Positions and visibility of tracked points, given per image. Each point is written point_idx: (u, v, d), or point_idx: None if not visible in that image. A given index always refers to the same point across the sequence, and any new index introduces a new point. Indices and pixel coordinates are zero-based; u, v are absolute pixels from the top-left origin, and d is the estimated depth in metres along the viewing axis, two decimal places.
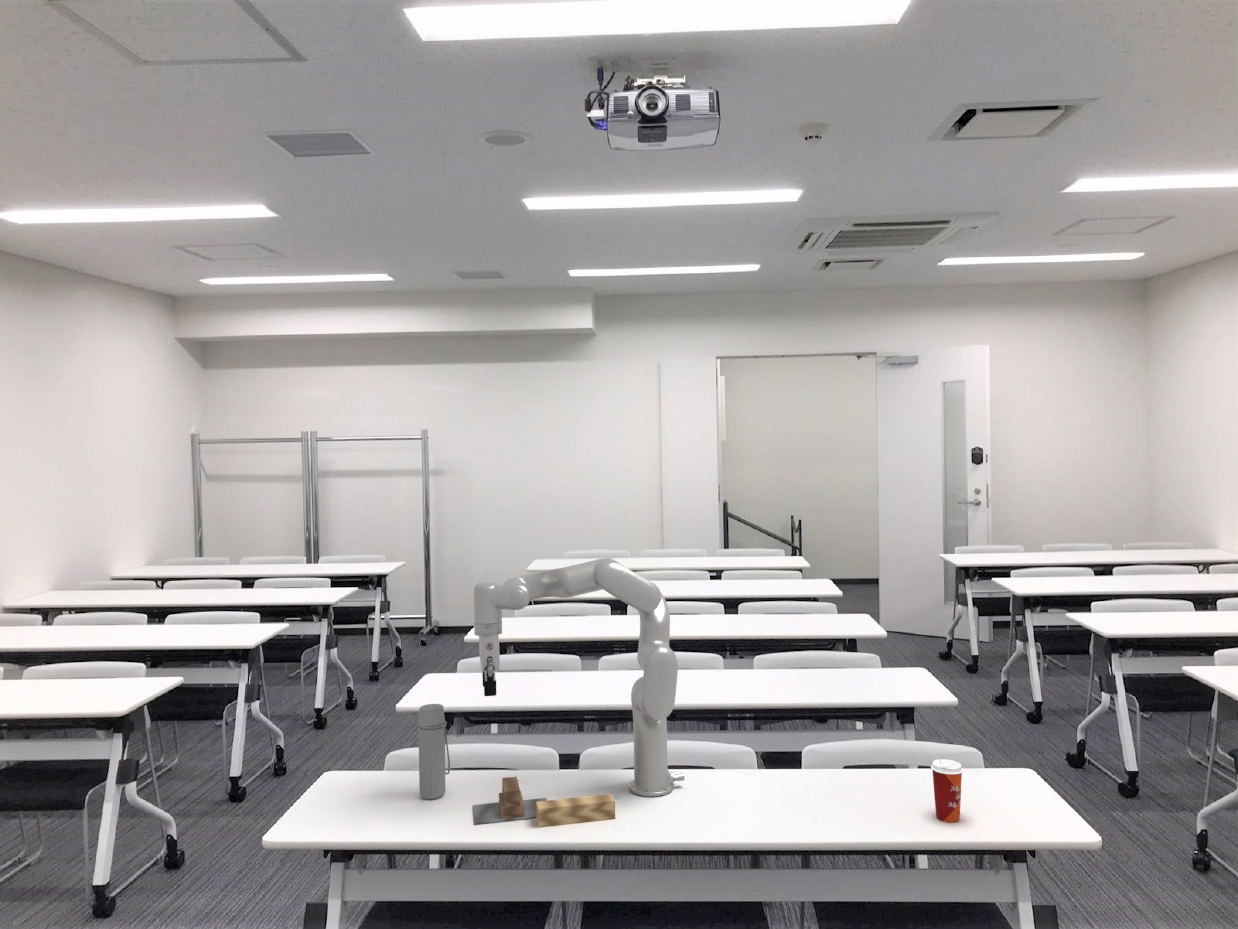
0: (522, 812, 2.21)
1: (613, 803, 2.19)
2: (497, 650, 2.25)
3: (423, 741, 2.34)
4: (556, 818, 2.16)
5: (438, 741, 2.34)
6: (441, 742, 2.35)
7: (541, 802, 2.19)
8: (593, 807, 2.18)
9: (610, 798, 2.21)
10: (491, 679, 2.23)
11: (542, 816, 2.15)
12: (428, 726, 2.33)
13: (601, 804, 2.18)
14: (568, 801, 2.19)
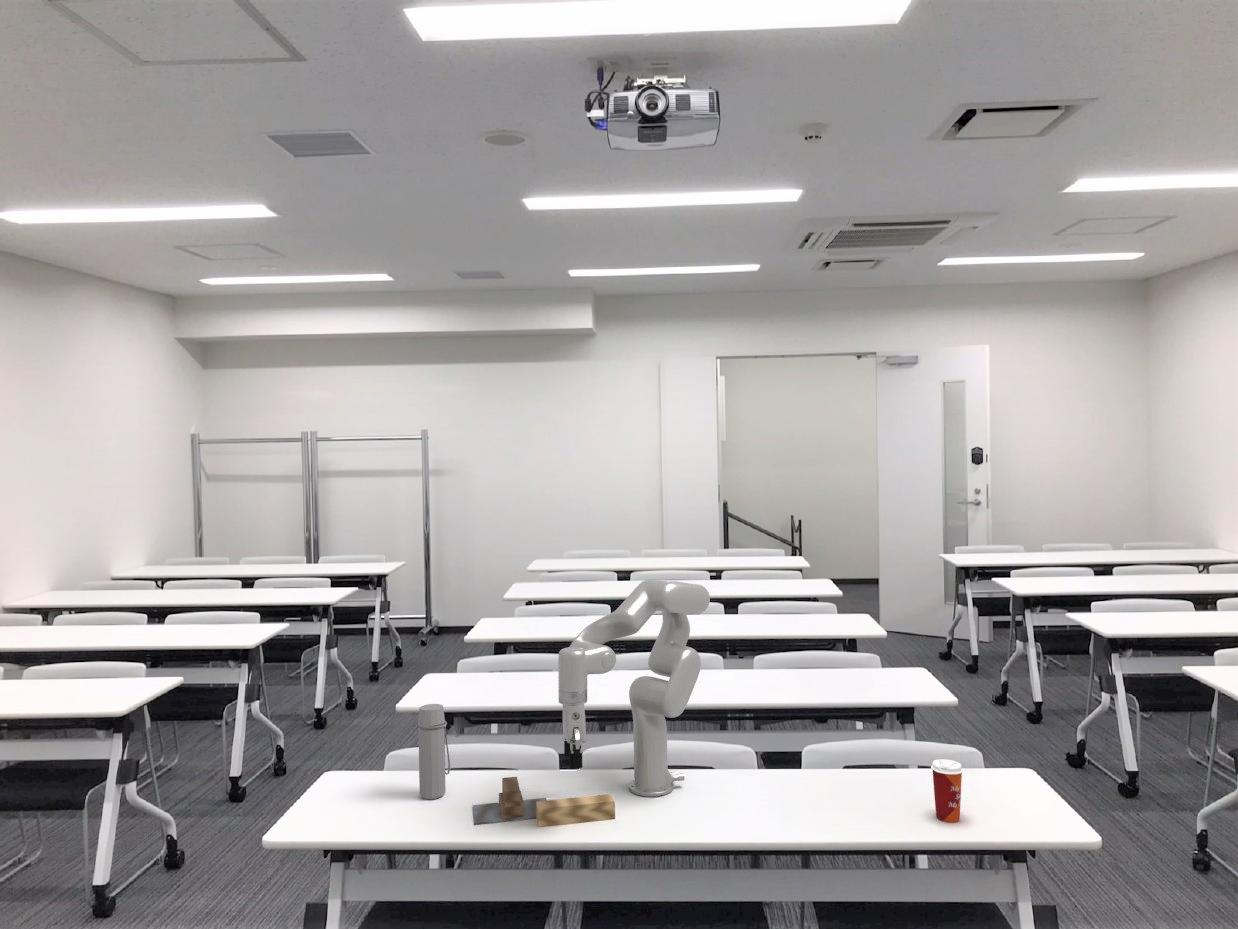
0: (522, 812, 2.21)
1: (613, 803, 2.19)
2: (583, 720, 2.15)
3: (423, 741, 2.34)
4: (556, 818, 2.16)
5: (438, 741, 2.34)
6: (441, 742, 2.35)
7: (540, 802, 2.19)
8: (593, 807, 2.18)
9: (610, 798, 2.21)
10: (578, 751, 2.13)
11: (541, 816, 2.15)
12: (428, 726, 2.33)
13: (601, 804, 2.18)
14: (568, 801, 2.19)
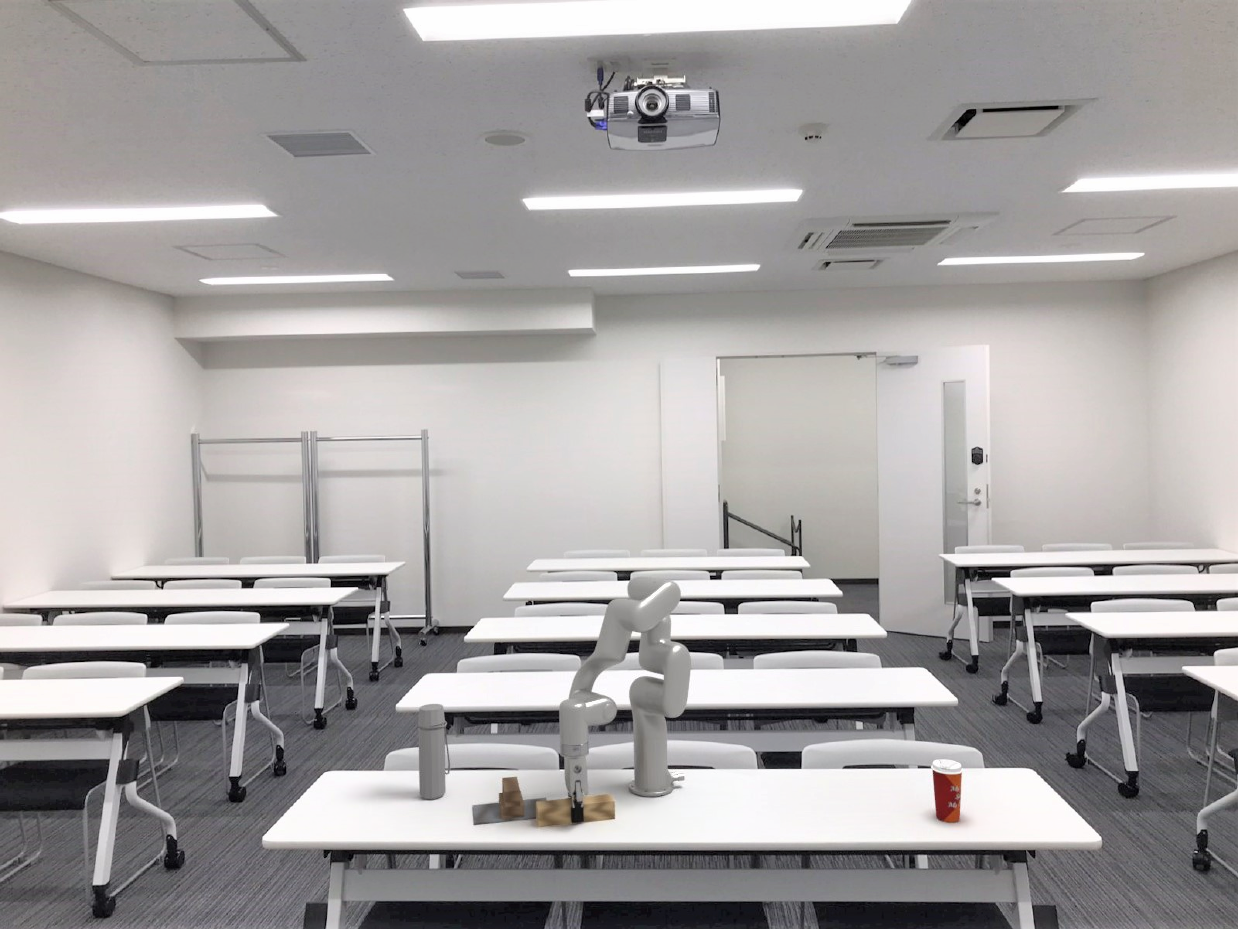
0: (522, 812, 2.21)
1: (613, 803, 2.19)
2: (585, 773, 2.15)
3: (423, 741, 2.34)
4: (556, 818, 2.16)
5: (438, 741, 2.34)
6: (441, 742, 2.35)
7: (540, 802, 2.19)
8: (593, 807, 2.18)
9: (610, 799, 2.21)
10: (579, 806, 2.15)
11: (541, 816, 2.15)
12: (428, 726, 2.33)
13: (601, 805, 2.18)
14: (568, 801, 2.19)
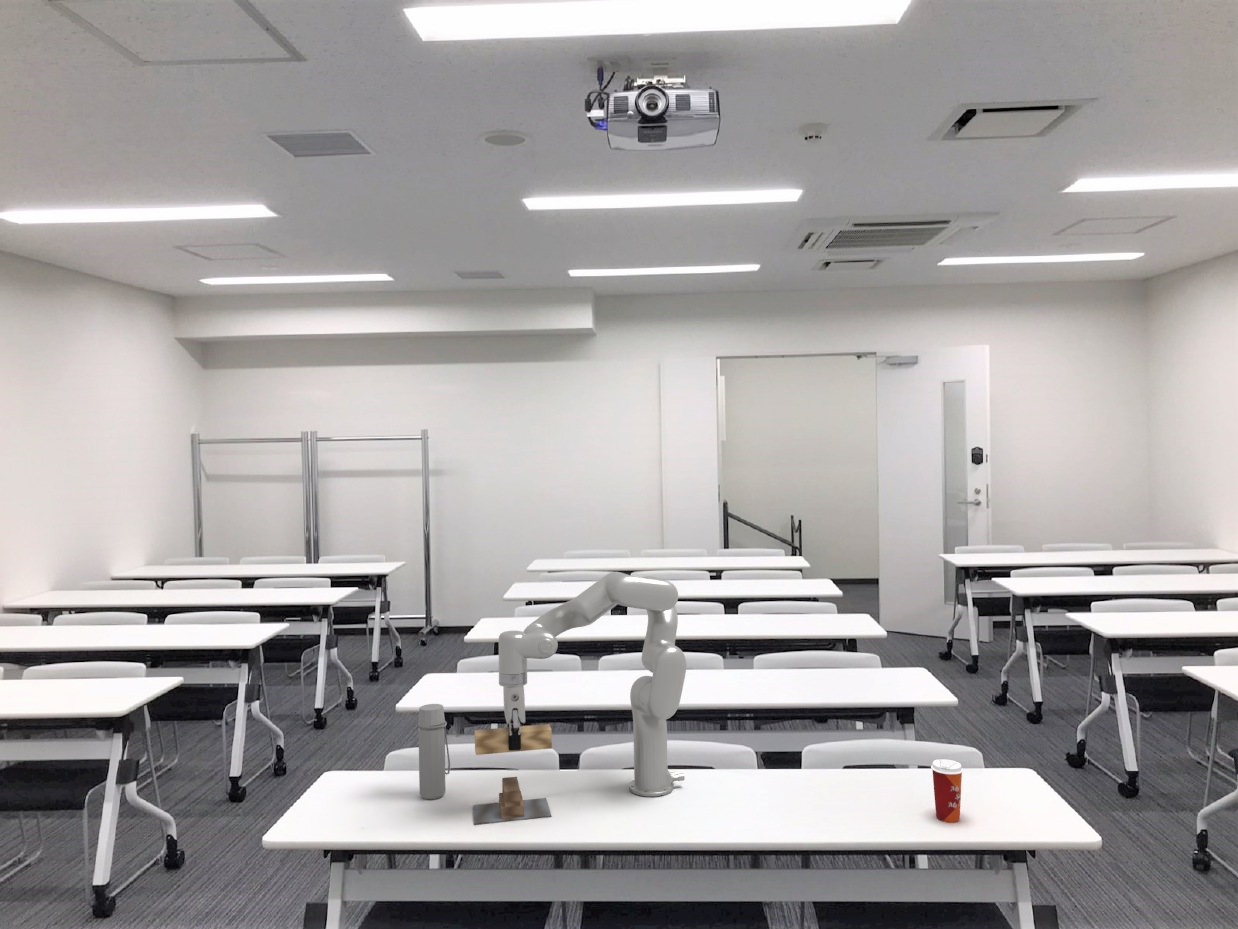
0: (522, 812, 2.21)
1: (550, 732, 2.24)
2: (523, 701, 2.20)
3: (423, 741, 2.34)
4: (493, 745, 2.21)
5: (438, 741, 2.34)
6: (441, 742, 2.35)
7: (479, 730, 2.24)
8: (530, 735, 2.23)
9: (547, 728, 2.26)
10: (516, 733, 2.20)
11: (479, 743, 2.20)
12: (428, 726, 2.33)
13: (538, 733, 2.23)
14: (506, 730, 2.24)
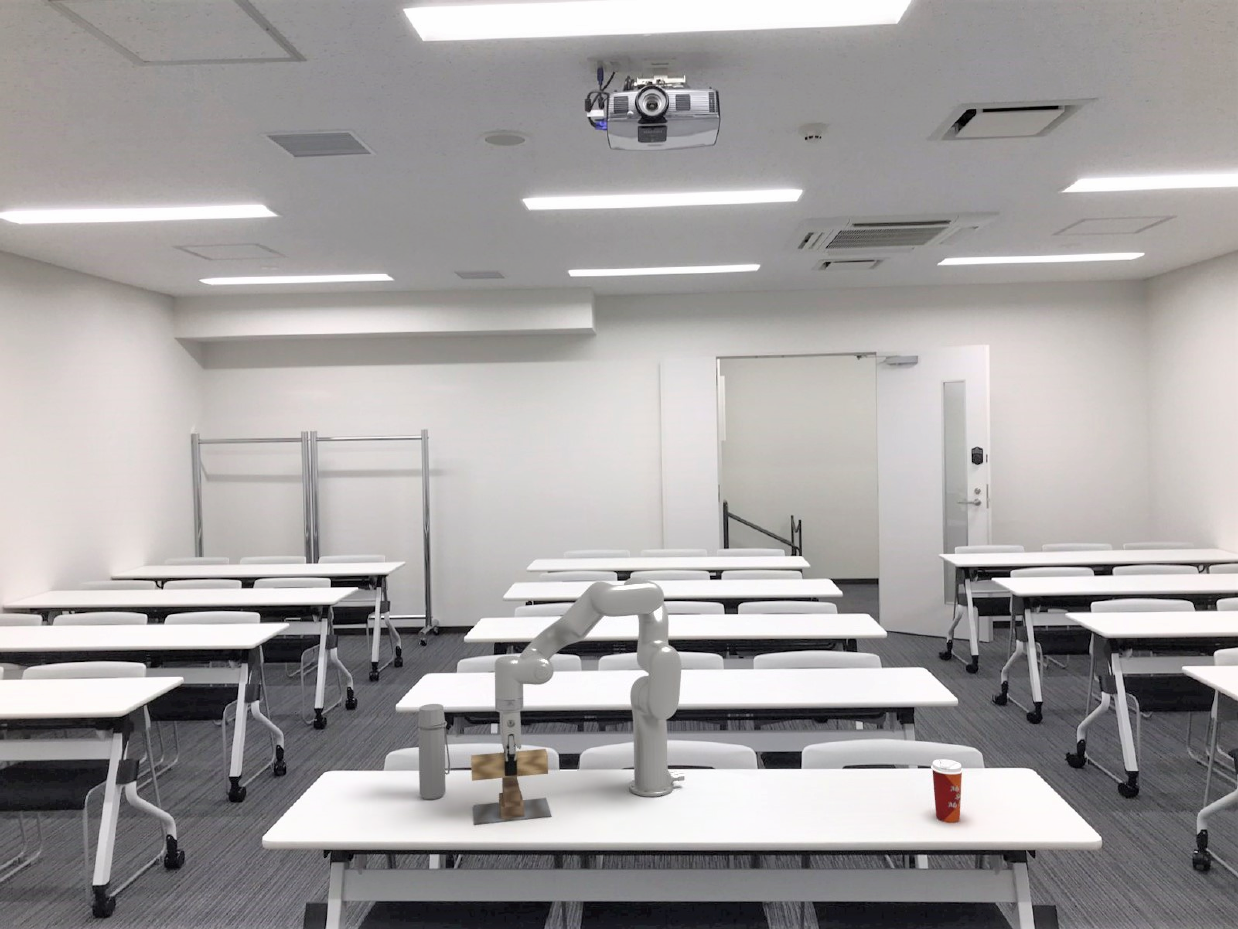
0: (522, 812, 2.21)
1: (546, 757, 2.24)
2: (519, 727, 2.21)
3: (423, 741, 2.34)
4: (489, 771, 2.21)
5: (438, 741, 2.34)
6: (441, 742, 2.35)
7: (475, 755, 2.25)
8: (526, 761, 2.23)
9: (543, 753, 2.26)
10: (512, 759, 2.20)
11: (475, 768, 2.21)
12: (428, 726, 2.33)
13: (534, 758, 2.24)
14: (502, 755, 2.25)
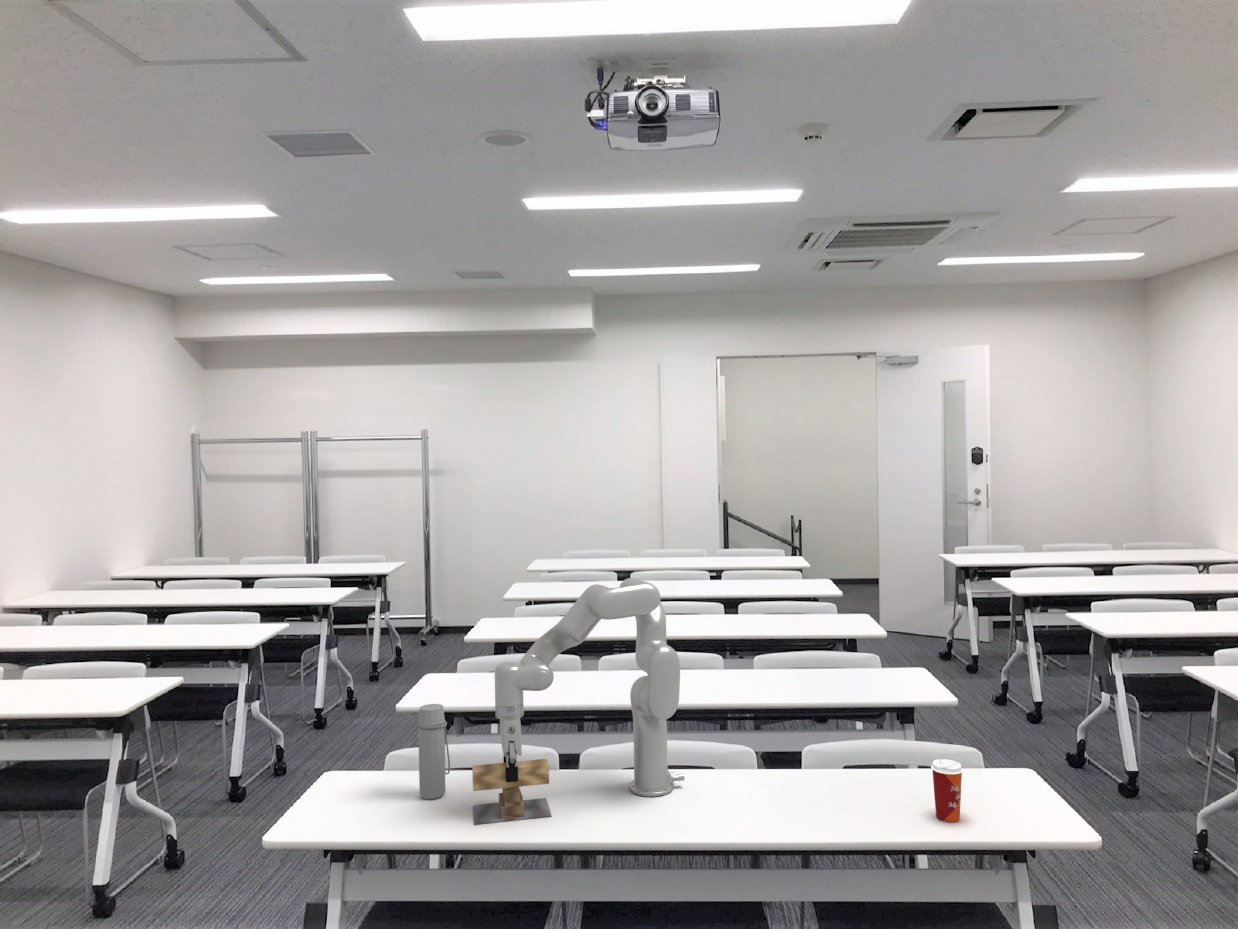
0: (522, 812, 2.21)
1: (547, 767, 2.24)
2: (519, 734, 2.21)
3: (423, 741, 2.34)
4: (490, 781, 2.21)
5: (438, 741, 2.34)
6: (441, 742, 2.35)
7: (476, 766, 2.25)
8: (527, 771, 2.23)
9: (545, 763, 2.26)
10: (513, 765, 2.19)
11: (476, 779, 2.21)
12: (428, 726, 2.33)
13: (535, 768, 2.24)
14: (504, 765, 2.25)
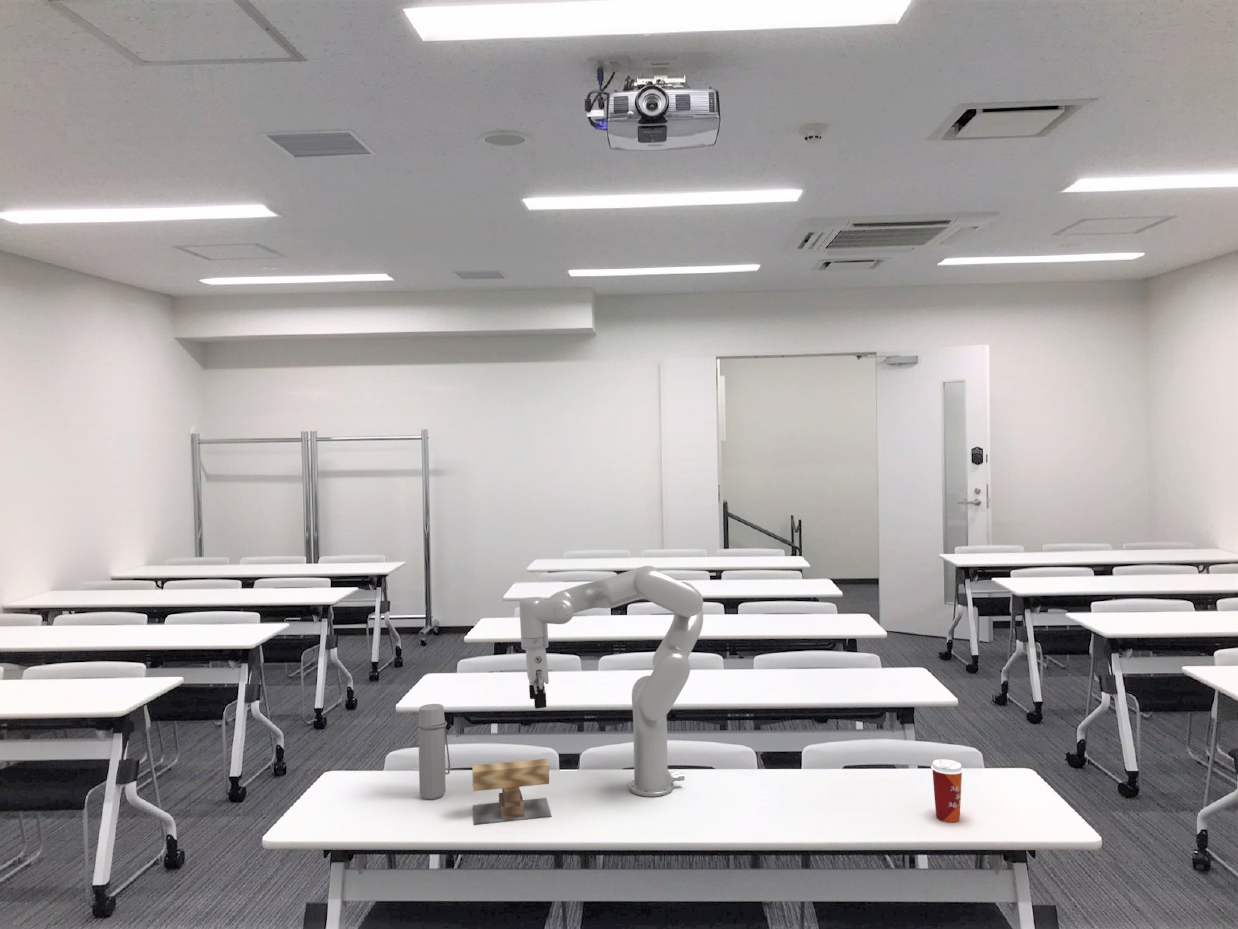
0: (522, 812, 2.21)
1: (547, 767, 2.24)
2: (545, 663, 2.32)
3: (423, 741, 2.34)
4: (490, 781, 2.21)
5: (438, 741, 2.34)
6: (441, 742, 2.35)
7: (477, 766, 2.25)
8: (527, 771, 2.23)
9: (545, 763, 2.26)
10: (541, 692, 2.30)
11: (476, 779, 2.21)
12: (428, 726, 2.33)
13: (535, 768, 2.24)
14: (504, 765, 2.25)
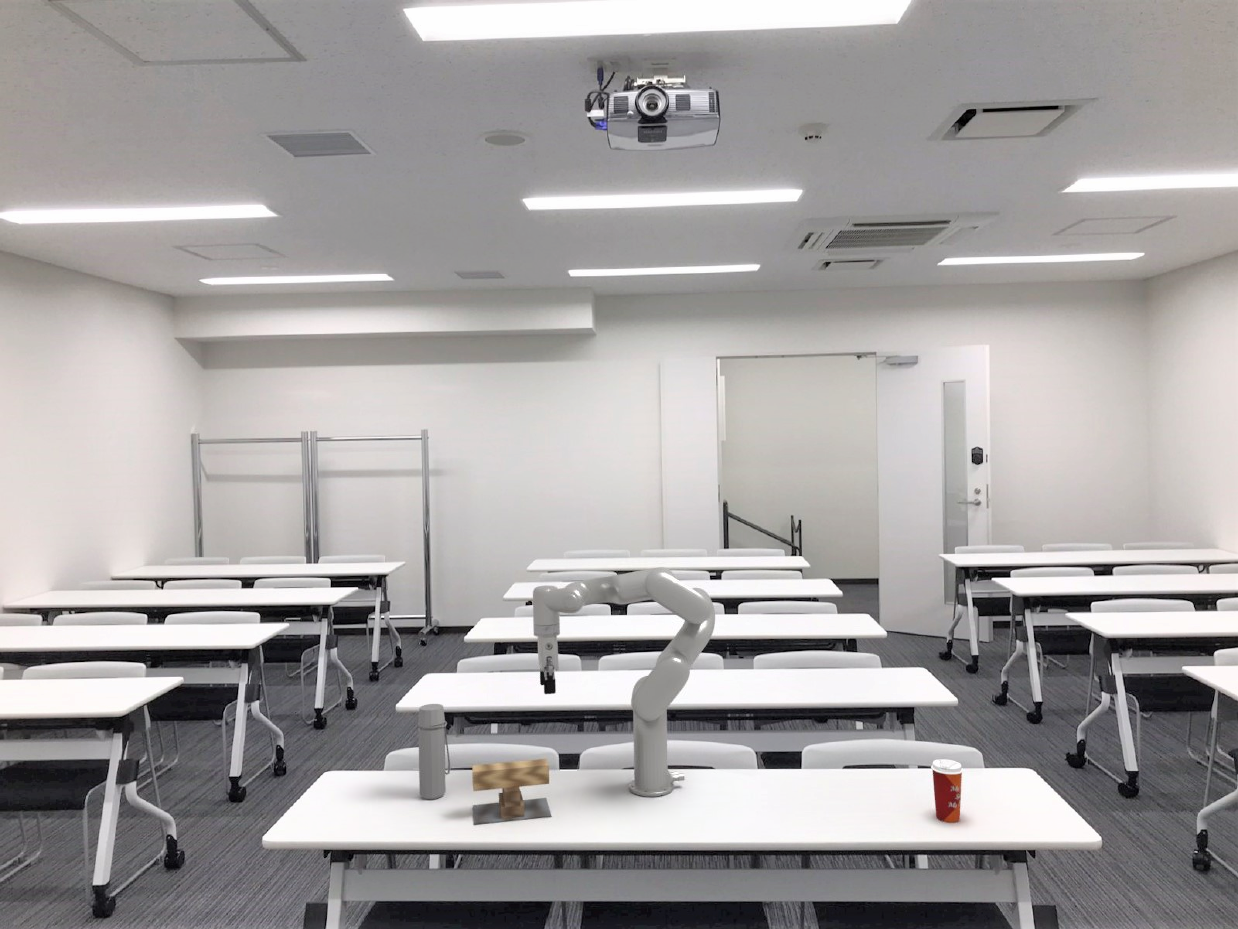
0: (522, 812, 2.21)
1: (547, 767, 2.24)
2: (556, 650, 2.37)
3: (423, 741, 2.34)
4: (490, 781, 2.21)
5: (438, 741, 2.34)
6: (441, 742, 2.35)
7: (477, 766, 2.25)
8: (527, 771, 2.23)
9: (545, 763, 2.26)
10: (551, 678, 2.35)
11: (476, 779, 2.21)
12: (428, 726, 2.33)
13: (535, 768, 2.24)
14: (504, 765, 2.25)
